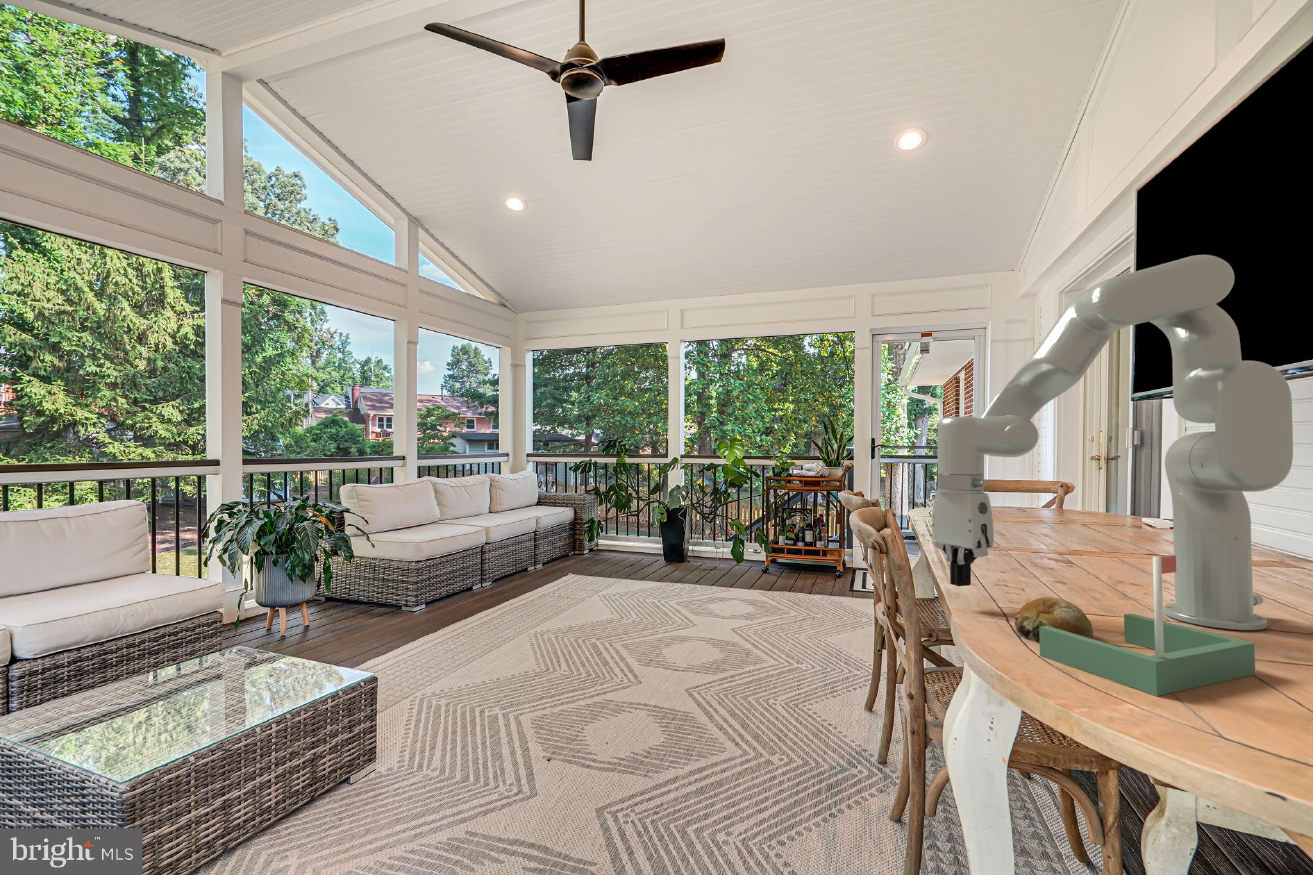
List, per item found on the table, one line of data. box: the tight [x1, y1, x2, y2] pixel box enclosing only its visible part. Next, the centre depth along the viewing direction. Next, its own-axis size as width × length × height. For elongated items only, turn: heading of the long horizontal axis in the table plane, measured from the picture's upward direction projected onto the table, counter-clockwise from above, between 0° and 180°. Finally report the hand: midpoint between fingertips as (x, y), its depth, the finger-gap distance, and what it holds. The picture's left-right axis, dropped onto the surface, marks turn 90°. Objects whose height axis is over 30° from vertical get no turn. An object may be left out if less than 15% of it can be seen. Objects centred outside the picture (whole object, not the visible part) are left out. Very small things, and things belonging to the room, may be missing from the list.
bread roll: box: [1013, 596, 1095, 643], centre depth 90 cm, size 10×10×8 cm
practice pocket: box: [1039, 554, 1256, 697], centre depth 79 cm, size 19×14×16 cm
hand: (960, 584), depth 106 cm, fingers closed
